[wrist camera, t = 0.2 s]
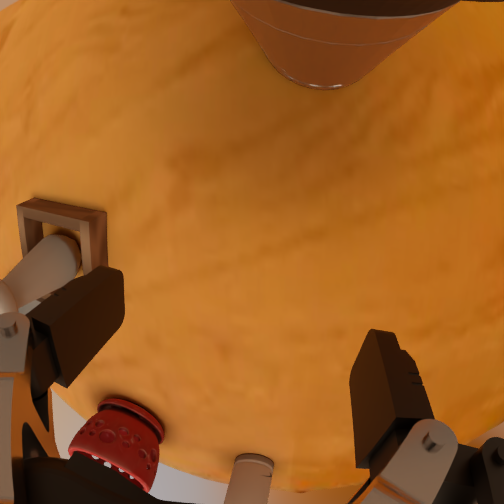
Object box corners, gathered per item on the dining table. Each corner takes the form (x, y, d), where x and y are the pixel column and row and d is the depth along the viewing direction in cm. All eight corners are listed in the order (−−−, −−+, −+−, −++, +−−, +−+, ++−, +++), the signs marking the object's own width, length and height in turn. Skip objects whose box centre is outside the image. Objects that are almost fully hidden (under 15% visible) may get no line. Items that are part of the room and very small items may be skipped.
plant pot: (123, 435, 46) (96, 483, 35) (88, 386, 42) (51, 438, 31) (185, 446, 43) (162, 504, 32) (154, 395, 39) (118, 461, 28)
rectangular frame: (33, 198, 30) (16, 205, 27) (106, 212, 29) (88, 221, 26) (43, 281, 34) (29, 292, 32) (111, 306, 33) (97, 320, 31)
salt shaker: (52, 221, 30) (-32, 269, 19) (89, 237, 30) (3, 296, 18) (52, 264, 33) (-21, 318, 21) (87, 282, 33) (14, 347, 21)
